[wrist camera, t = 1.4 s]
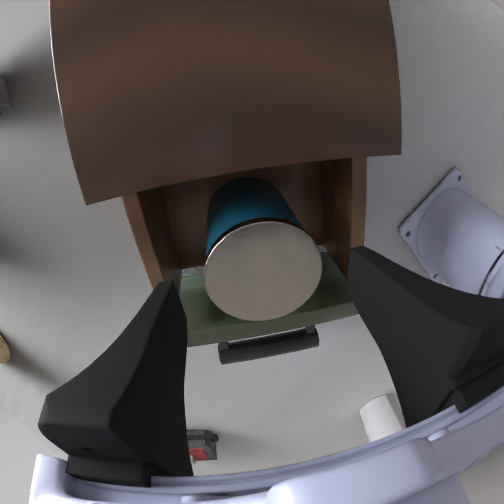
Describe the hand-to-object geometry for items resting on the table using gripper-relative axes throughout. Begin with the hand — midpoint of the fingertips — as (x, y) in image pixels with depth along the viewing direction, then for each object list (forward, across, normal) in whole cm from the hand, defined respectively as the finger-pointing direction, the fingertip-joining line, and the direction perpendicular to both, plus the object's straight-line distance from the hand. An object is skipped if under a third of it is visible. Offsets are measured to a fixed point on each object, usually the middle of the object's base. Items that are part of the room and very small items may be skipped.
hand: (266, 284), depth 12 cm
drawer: (+8, 0, +1) cm, 8 cm away
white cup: (+9, -16, +35) cm, 39 cm away
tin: (+7, 0, 0) cm, 7 cm away
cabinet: (+9, 0, -11) cm, 14 cm away
